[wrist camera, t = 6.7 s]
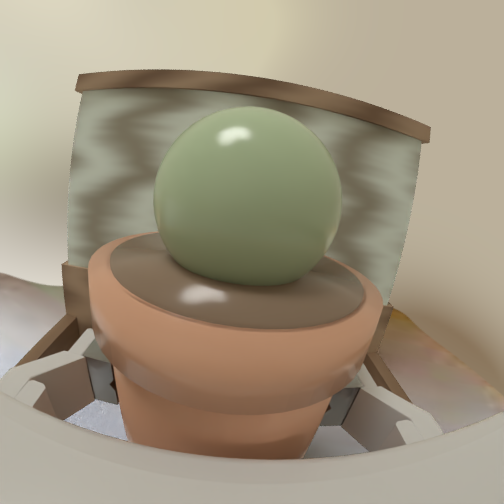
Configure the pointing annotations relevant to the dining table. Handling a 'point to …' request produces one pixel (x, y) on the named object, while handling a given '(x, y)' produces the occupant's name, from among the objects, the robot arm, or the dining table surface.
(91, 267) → the seedling pot
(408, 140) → the brown wooden frame
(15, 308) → the dining table surface
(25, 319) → the dining table surface
